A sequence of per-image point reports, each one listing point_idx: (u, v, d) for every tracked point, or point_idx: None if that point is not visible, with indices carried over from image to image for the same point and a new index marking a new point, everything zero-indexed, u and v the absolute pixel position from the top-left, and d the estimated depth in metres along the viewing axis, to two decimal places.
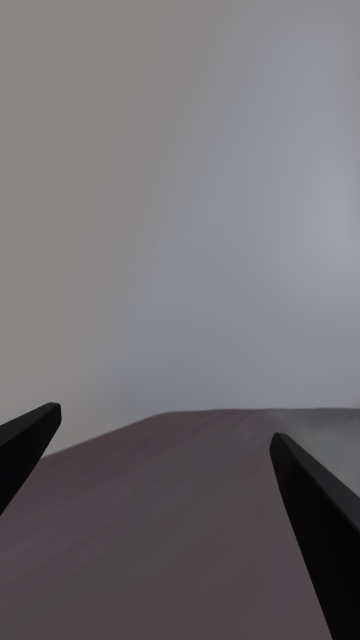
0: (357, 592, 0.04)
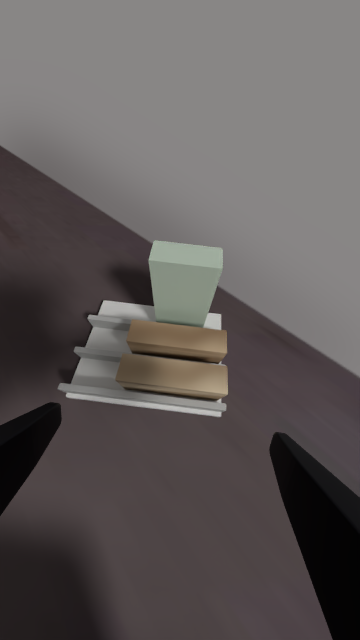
0: (357, 592, 0.04)
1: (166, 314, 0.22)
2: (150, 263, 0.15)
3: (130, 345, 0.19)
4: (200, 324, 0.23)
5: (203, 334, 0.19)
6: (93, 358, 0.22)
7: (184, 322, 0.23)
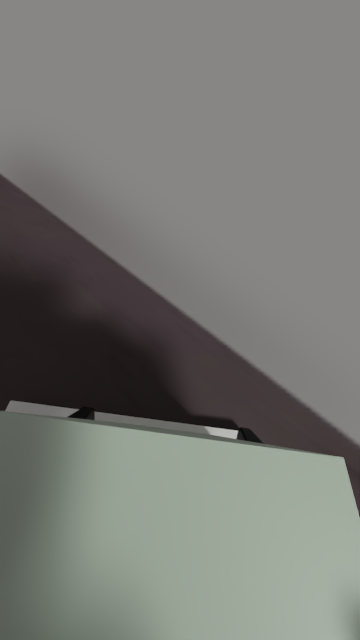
0: None
1: None
2: None
3: None
4: None
5: None
6: None
7: None
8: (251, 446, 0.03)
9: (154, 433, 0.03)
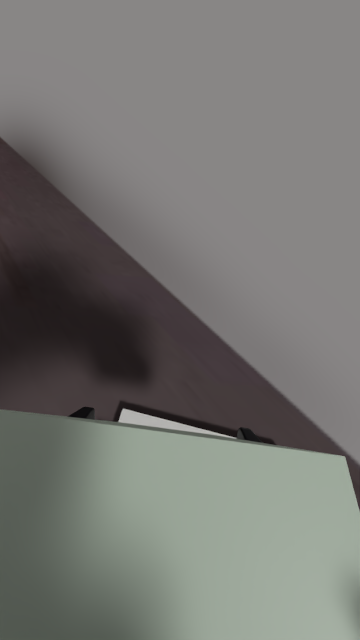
0: None
1: None
2: None
3: None
4: None
5: None
6: None
7: None
8: (253, 445, 0.03)
9: (156, 432, 0.03)
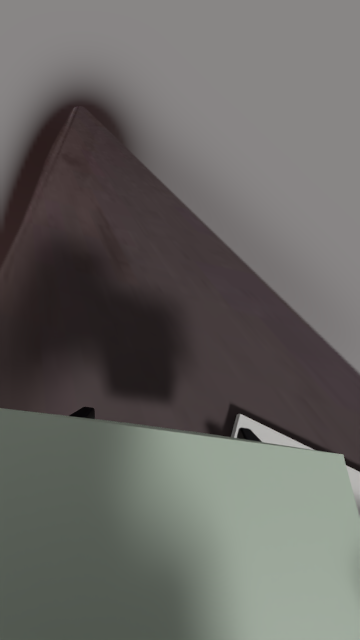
0: None
1: None
2: None
3: None
4: None
5: None
6: None
7: None
8: (251, 443, 0.03)
9: (154, 430, 0.03)
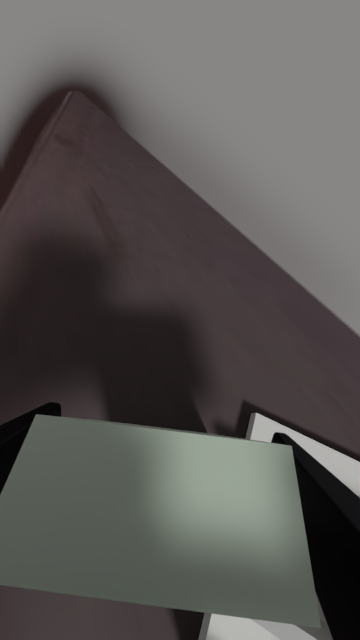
0: (357, 592, 0.04)
1: None
2: None
3: None
4: None
5: None
6: None
7: None
8: (227, 438, 0.04)
9: (160, 430, 0.04)
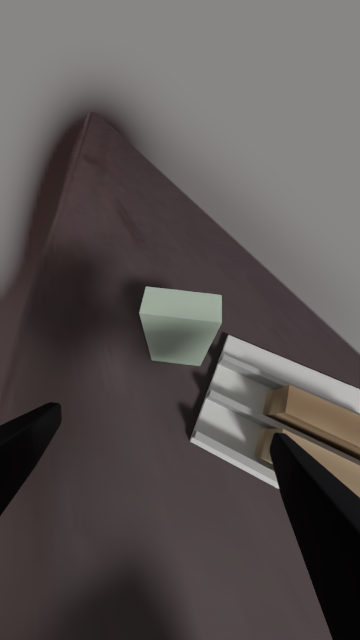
0: (357, 592, 0.04)
1: (161, 353, 0.20)
2: (141, 315, 0.14)
3: (281, 414, 0.17)
4: (198, 361, 0.22)
5: None
6: (220, 404, 0.20)
7: (181, 359, 0.22)
8: (202, 293, 0.15)
9: None
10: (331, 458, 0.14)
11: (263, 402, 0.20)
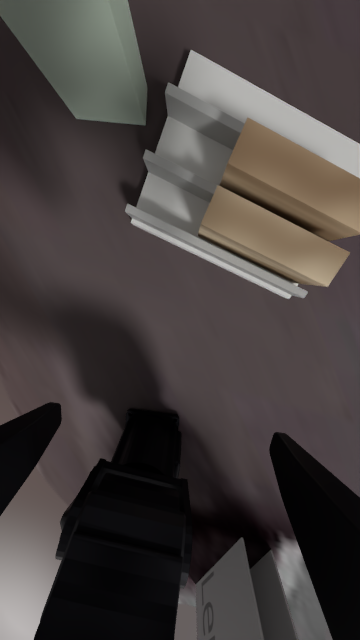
0: (357, 592, 0.04)
1: (70, 87, 0.13)
2: None
3: (227, 173, 0.13)
4: (135, 108, 0.14)
5: (348, 189, 0.12)
6: (164, 178, 0.16)
7: (109, 106, 0.14)
8: None
9: None
10: (265, 218, 0.12)
11: (222, 175, 0.16)
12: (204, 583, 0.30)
